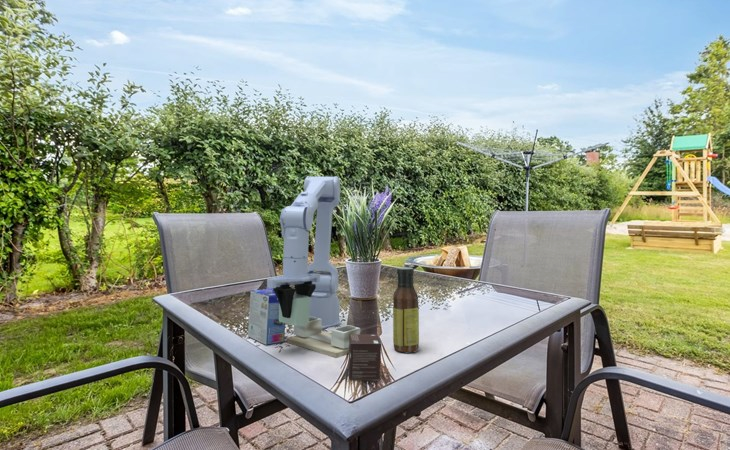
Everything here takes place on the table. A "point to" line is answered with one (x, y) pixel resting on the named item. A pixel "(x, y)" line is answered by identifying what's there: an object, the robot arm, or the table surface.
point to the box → (364, 357)
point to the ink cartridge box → (265, 317)
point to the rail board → (323, 338)
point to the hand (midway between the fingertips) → (294, 315)
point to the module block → (297, 311)
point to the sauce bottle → (405, 313)
